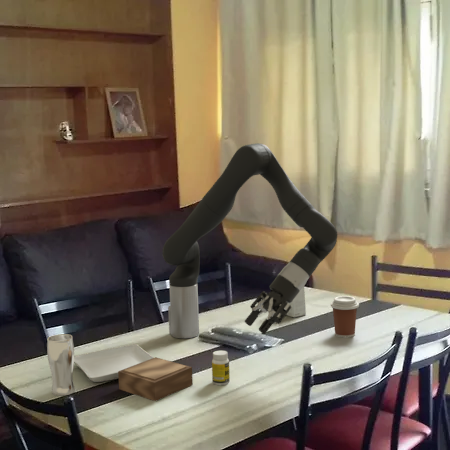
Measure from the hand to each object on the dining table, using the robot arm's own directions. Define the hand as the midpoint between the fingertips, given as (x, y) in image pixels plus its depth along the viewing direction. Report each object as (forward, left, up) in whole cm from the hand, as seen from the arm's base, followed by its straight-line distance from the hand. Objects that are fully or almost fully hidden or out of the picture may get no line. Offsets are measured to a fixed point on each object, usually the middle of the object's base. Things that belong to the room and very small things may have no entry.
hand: (254, 328), depth 203 cm
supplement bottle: (-4, -9, -14) cm, 17 cm away
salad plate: (-36, -19, -14) cm, 44 cm away
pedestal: (-16, -22, -14) cm, 31 cm away
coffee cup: (+1, +47, -14) cm, 49 cm away
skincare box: (-27, +57, -14) cm, 64 cm away
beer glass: (-34, -39, -14) cm, 54 cm away
